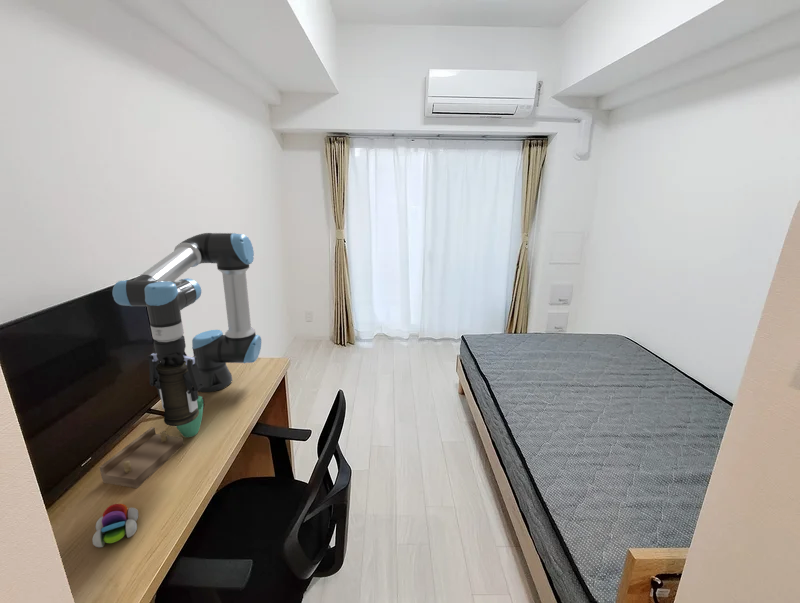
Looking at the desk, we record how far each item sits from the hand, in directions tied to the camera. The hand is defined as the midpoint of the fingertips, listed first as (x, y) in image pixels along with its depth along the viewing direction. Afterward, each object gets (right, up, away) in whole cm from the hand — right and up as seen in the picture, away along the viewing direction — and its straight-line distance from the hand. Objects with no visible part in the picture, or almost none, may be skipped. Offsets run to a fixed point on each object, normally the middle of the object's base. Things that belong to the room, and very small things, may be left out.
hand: (180, 408), depth 113 cm
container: (0, -3, +1) cm, 4 cm away
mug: (-7, -13, +21) cm, 26 cm away
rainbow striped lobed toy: (-5, -26, -19) cm, 32 cm away
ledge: (-13, -18, +5) cm, 23 cm away
